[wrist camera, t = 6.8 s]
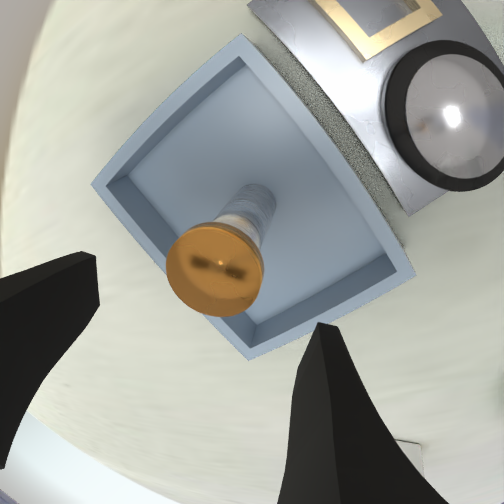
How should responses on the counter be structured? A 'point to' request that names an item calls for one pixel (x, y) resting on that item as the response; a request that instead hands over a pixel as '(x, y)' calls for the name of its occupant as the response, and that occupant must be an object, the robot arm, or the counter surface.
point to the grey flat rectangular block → (404, 86)
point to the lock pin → (223, 255)
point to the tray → (269, 175)
